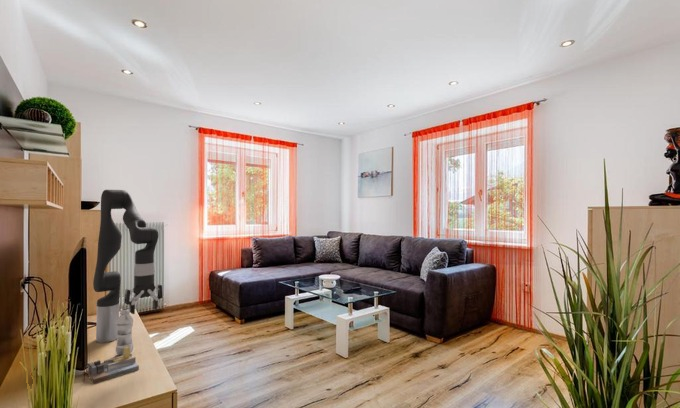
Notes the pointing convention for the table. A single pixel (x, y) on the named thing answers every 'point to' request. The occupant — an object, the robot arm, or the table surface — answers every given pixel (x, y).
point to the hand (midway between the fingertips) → (144, 311)
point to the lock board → (110, 368)
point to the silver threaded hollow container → (124, 331)
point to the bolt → (125, 354)
